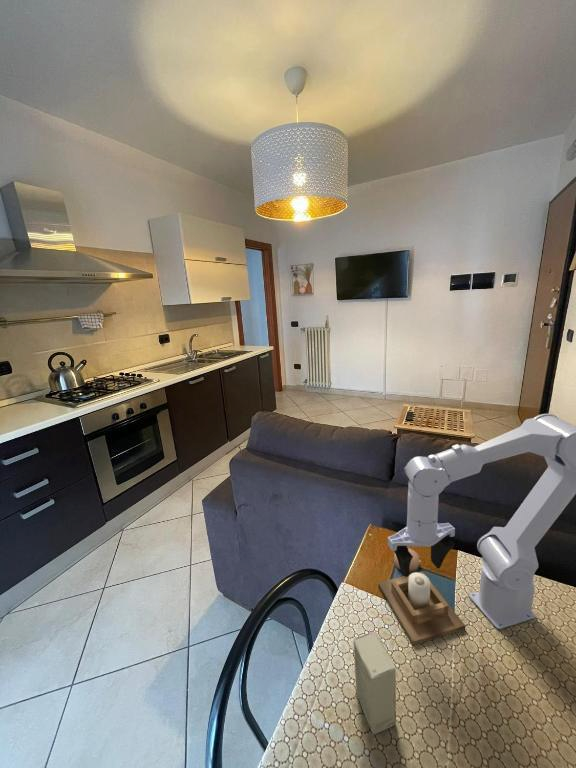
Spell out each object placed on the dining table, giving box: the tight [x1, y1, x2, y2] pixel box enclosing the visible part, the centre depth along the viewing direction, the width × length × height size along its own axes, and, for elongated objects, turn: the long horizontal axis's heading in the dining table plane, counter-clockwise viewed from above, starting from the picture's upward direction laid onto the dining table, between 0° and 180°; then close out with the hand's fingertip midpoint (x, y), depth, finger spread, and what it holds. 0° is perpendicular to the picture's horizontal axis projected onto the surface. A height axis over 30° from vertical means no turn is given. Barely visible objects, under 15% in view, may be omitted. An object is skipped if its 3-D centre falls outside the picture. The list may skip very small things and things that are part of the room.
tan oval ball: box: [393, 547, 420, 574], centre depth 81 cm, size 6×6×2 cm
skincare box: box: [353, 631, 397, 735], centre depth 51 cm, size 6×4×12 cm
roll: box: [408, 571, 431, 610], centre depth 68 cm, size 4×4×6 cm
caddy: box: [377, 570, 466, 646], centre depth 69 cm, size 12×14×4 cm
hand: (420, 568), depth 67 cm, fingers open, 7 cm apart
